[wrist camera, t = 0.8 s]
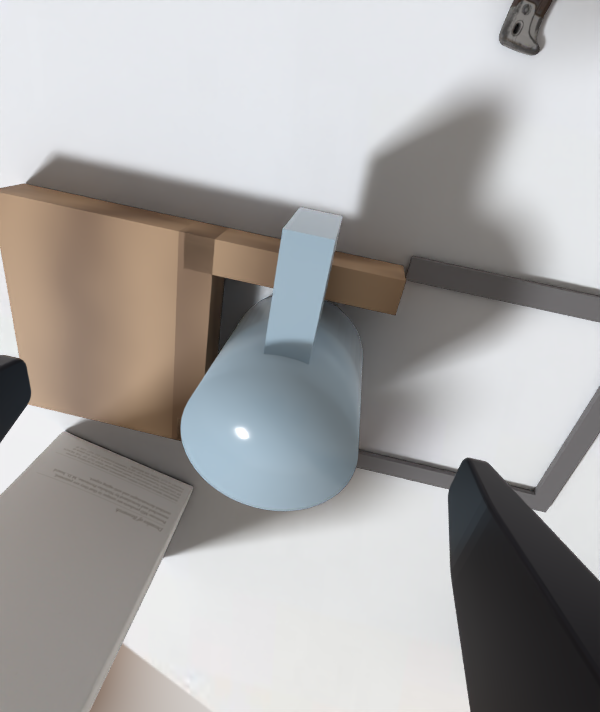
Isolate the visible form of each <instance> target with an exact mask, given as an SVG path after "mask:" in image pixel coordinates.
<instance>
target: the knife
mask: <svg viewBox="0 0 600 712" xmlns="http://www.w3.org/2000/svg"><path fill="white" fill-rule="evenodd" d="M551 2H552V0H514V1H513V3H512V5H511V7H510V10H509V12H508V15H507V17H506V19H505V22H504V24H503V26H502V29H501V32H500V34H499V41H500V43H501V44H502V45H504V46H506V47H508V48H510V49H513V50H515V51H518V52H521V53H524V54H528V55H536V54H538V52H539V46H538V44H537V40H536V37H537V33H538V30H539V26H540V24H541V22H542V20H543V17H544V15H545V13H546V11H547V9H548V7H549V6H550V4H551ZM516 25H517V29H516V31H515V33H513V30H514V28H515V26H516Z"/></svg>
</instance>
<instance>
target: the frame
mask: <svg viewBox="0 0 600 712" xmlns="http://www.w3.org/2000/svg"><path fill="white" fill-rule="evenodd" d="M406 280H408V281H412V282H417V283H421V284H426V285H431V286H435V287H440V288H444V289H449V290H454V291H458V292H463V293H467V294H472V295H476V296H481V297H486V298H490V299H495V300H499V301H504V302H509V303H513V304H518V305H522V306H527V307H531V308H536V309H541V310H545V311H550V312H554V313H559V314H563V315H568V316H573V317H577V318H582V319H586V320H591V321H596V322H600V296H597V295H592V294H587V293H583V292H578V291H573V290H569V289H564V288H559V287H555V286H550V285H546V284H541V283H536V282H532V281H527V280H522V279H518V278H513V277H509V276H504V275H499V274H495V273H490V272H485V271H481V270H476V269H471V268H467V267H462V266H458V265H453V264H448V263H444V262H439V261H434V260H430V259H425V258H420V257H416V256H412V259H411V262H410V265H409V268H408V271H407V275H406ZM599 432H600V387H599V388H598V390H597V391H596V393H595V395H594V396H593V398H592V399H591V401H590V403H589V404H588V406H587V407H586V409H585V410H584V412H583V414H582V415H581V417H580V418H579V420H578V422H577V423H576V425H575V426H574V428H573V430H572V431H571V433H570V434H569V436H568V437H567V439H566V441H565V442H564V444H563V445H562V447H561V449H560V450H559V452H558V453H557V455H556V457H555V458H554V460H553V461H552V463H551V464H550V466H549V468H548V469H547V471H546V472H545V474H544V476H543V477H542V479H541V480H540V482H539V484H538V485H537V487H536V488H535V490H534V491H531V490H526V489H522V488H518V487H514V486H511V488H512V489H513V490H514V491H515V492H516V493H517V494H518V495H519V496H520V497H521V498H522V499H523V500H524V501H525V502H526V503H527V505H528V506H529V507H530V508H531V509H533V510H538V511H542V512H546V511H547V510H548V508H549V507H550V505H551V504H552V502H553V501H554V499H555V498H556V496H557V495H558V493H559V492H560V490H561V489H562V487H563V486H564V484H565V483H566V481H567V480H568V478H569V477H570V475H571V474H572V472H573V471H574V470H575V468H576V467H577V465H578V464H579V462H580V461H581V459H582V458H583V456H584V455H585V453H586V452H587V450H588V449H589V447H590V446H591V444H592V443H593V441H594V440H595V438H596V437H597V435H598V434H599ZM356 467H357V468H361V469H366V470H370V471H374V472H378V473H382V474H387V475H391V476H395V477H399V478H403V479H408V480H412V481H416V482H420V483H424V484H428V485H433V486H437V487H441V488H445V489H450V486H451V483H452V481H453V479H454V477H455V475H456V473H454V472H450V471H446V470H442V469H438V468H433V467H429V466H425V465H421V464H416V463H412V462H408V461H404V460H400V459H395V458H391V457H387V456H383V455H378V454H374V453H370V452H366V451H361V450H358V461H357V465H356Z"/></svg>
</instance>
